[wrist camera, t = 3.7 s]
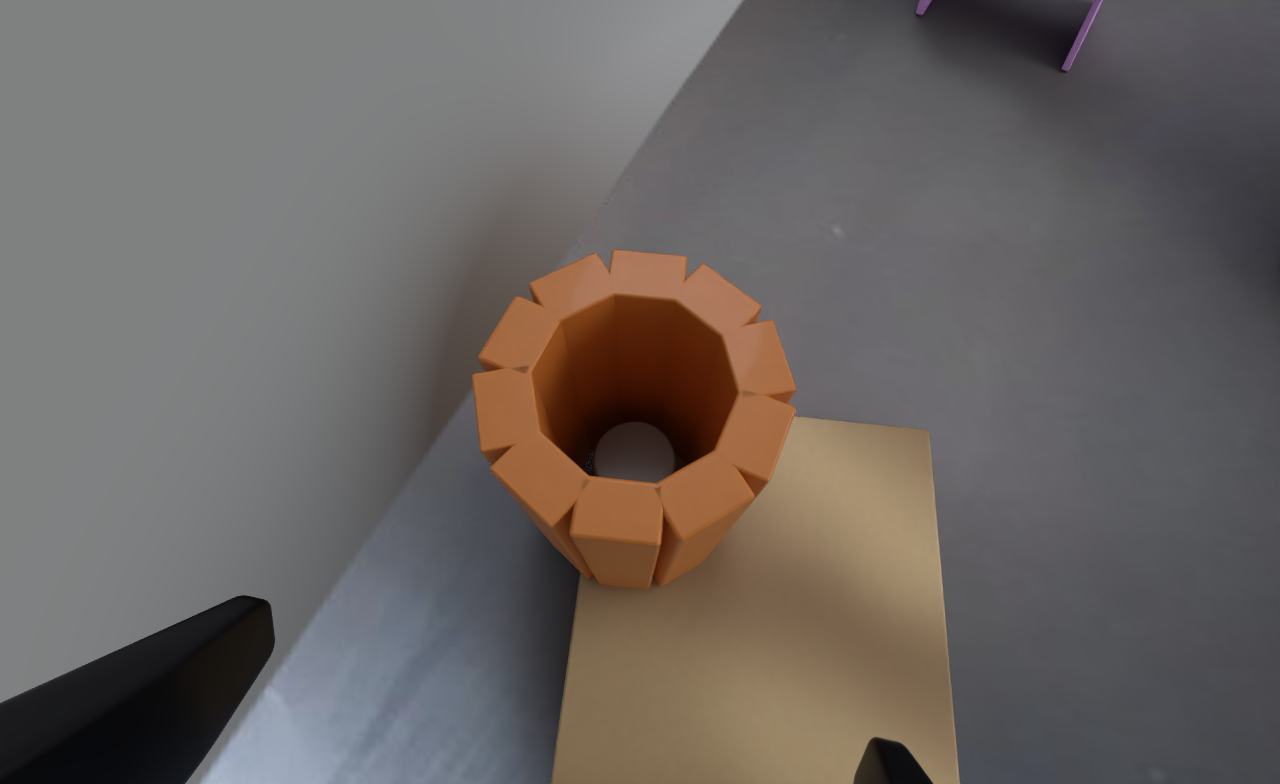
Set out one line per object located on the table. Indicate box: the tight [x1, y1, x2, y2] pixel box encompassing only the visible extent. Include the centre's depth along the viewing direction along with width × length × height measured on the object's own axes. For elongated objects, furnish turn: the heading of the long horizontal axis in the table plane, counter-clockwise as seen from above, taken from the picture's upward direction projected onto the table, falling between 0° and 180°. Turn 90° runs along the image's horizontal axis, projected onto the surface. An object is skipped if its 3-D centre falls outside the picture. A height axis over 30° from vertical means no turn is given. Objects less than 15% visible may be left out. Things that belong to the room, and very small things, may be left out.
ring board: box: [550, 416, 960, 784], centre depth 18 cm, size 14×12×5 cm
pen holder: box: [472, 250, 796, 590], centre depth 16 cm, size 6×7×10 cm
